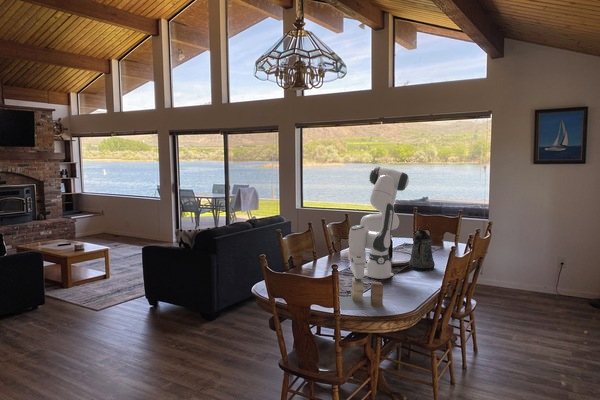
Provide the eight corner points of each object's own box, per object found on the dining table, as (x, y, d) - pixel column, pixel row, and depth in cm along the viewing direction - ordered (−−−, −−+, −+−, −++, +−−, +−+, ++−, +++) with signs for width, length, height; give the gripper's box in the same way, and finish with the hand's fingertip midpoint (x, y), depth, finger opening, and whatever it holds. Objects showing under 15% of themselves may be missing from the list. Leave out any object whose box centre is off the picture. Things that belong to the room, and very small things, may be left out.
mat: (336, 297, 231) (336, 296, 231) (377, 297, 232) (377, 296, 232) (341, 310, 212) (341, 309, 212) (386, 310, 213) (386, 309, 213)
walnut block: (370, 303, 221) (371, 282, 220) (380, 303, 222) (380, 282, 220) (372, 306, 216) (373, 285, 215) (382, 306, 217) (383, 285, 215)
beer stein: (432, 265, 295) (434, 229, 292) (436, 273, 276) (438, 234, 273) (407, 264, 298) (409, 228, 295) (409, 272, 279) (411, 233, 276)
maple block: (351, 294, 230) (352, 277, 225) (360, 294, 230) (362, 277, 225) (352, 300, 225) (353, 282, 220) (362, 300, 225) (363, 282, 221)
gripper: (347, 252, 236) (347, 277, 238) (354, 261, 216) (353, 288, 217) (359, 252, 237) (358, 277, 238) (366, 261, 216) (366, 288, 218)
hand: (356, 282), depth 227 cm, fingers closed
